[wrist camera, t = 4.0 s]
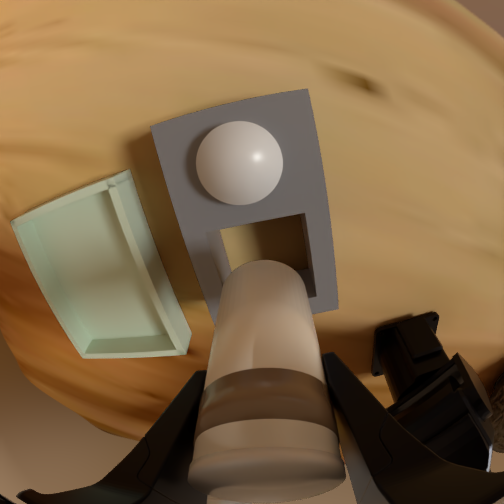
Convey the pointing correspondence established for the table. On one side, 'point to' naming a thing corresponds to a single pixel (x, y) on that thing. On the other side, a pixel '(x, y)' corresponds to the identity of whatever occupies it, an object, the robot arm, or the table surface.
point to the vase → (498, 415)
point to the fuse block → (249, 184)
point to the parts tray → (103, 272)
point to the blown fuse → (265, 395)
